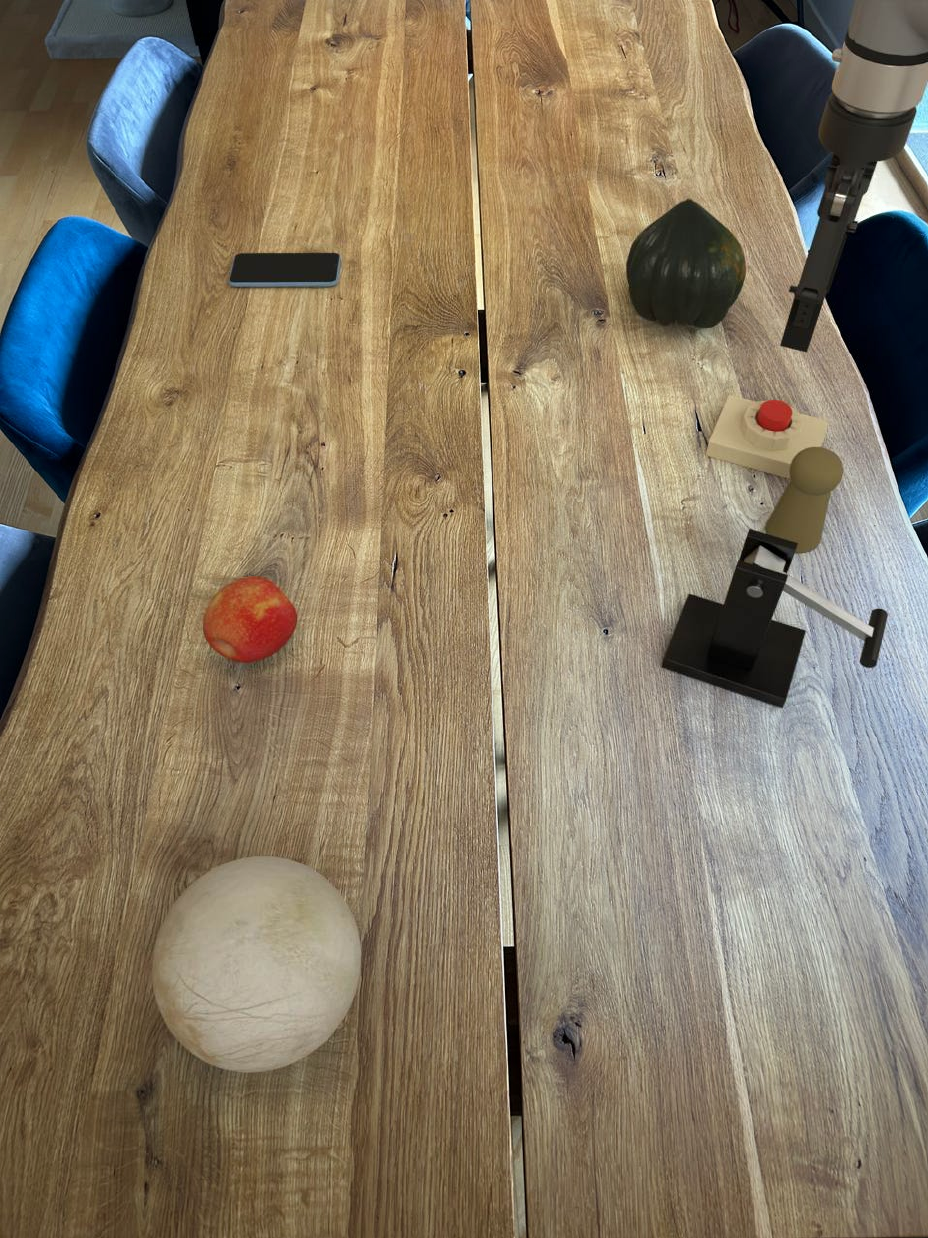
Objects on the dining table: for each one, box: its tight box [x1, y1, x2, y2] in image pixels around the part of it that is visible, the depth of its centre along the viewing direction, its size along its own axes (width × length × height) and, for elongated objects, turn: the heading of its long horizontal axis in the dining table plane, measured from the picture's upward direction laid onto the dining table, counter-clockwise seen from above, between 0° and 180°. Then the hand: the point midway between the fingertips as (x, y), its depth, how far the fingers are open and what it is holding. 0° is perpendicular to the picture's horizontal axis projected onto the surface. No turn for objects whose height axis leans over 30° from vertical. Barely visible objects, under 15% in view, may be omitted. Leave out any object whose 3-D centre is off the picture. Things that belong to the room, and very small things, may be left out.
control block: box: [705, 394, 830, 480], centre depth 117 cm, size 12×9×4 cm
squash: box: [625, 198, 747, 329], centre depth 130 cm, size 14×15×15 cm
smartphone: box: [227, 252, 342, 288], centre depth 140 cm, size 7×1×15 cm
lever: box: [744, 546, 889, 669], centre depth 91 cm, size 14×6×2 cm, turn 66°
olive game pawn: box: [764, 446, 844, 554], centre depth 106 cm, size 6×6×11 cm
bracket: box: [660, 528, 807, 709], centre depth 95 cm, size 12×9×15 cm
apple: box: [202, 575, 298, 664], centre depth 98 cm, size 8×8×8 cm
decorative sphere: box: [151, 855, 363, 1073], centre depth 74 cm, size 15×15×15 cm
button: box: [757, 399, 792, 432], centre depth 115 cm, size 4×4×2 cm
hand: (805, 317), depth 105 cm, fingers open, 10 cm apart
